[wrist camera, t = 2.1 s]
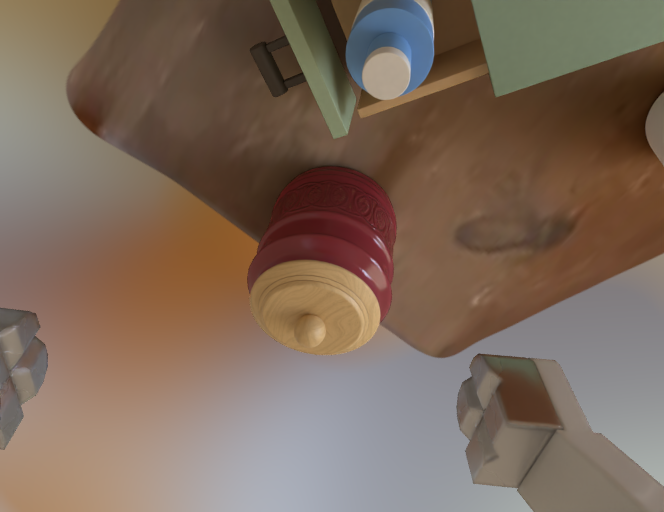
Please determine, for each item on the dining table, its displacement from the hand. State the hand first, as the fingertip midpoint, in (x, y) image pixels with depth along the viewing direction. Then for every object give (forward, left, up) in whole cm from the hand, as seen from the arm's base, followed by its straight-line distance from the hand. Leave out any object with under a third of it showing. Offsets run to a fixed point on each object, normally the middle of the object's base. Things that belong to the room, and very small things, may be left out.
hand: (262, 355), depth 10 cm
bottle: (0, +3, -36) cm, 36 cm away
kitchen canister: (+13, +20, -38) cm, 45 cm away
